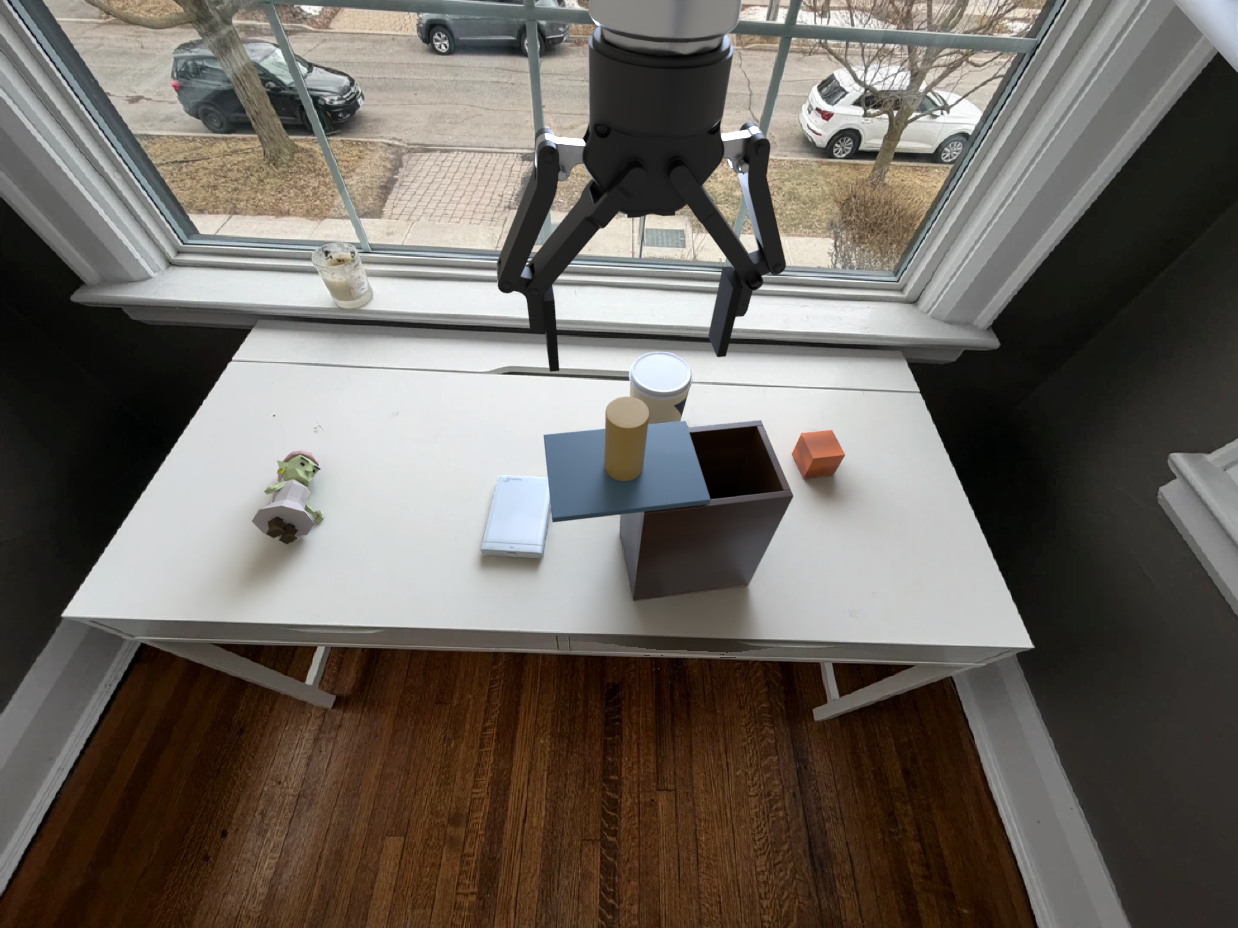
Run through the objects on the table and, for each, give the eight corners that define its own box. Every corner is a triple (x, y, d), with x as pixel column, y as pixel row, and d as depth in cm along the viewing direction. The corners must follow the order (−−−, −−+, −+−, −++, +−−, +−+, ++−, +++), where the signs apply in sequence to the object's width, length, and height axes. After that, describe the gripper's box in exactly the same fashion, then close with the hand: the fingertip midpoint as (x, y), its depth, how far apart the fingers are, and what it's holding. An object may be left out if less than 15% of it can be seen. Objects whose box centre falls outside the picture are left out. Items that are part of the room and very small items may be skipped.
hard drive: (497, 474, 80) (480, 548, 72) (553, 477, 80) (541, 552, 72) (499, 480, 81) (482, 555, 74) (554, 484, 81) (542, 558, 74)
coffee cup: (683, 450, 86) (694, 395, 77) (624, 446, 86) (628, 392, 77) (682, 407, 92) (692, 351, 82) (626, 404, 92) (630, 348, 82)
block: (833, 475, 84) (845, 454, 80) (803, 478, 83) (813, 458, 79) (821, 450, 87) (832, 429, 83) (791, 453, 86) (801, 432, 82)
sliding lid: (709, 504, 54) (726, 447, 47) (552, 522, 52) (545, 466, 45) (684, 425, 61) (696, 365, 54) (543, 439, 59) (537, 379, 52)
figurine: (271, 510, 66) (295, 424, 76) (226, 534, 68) (255, 447, 77) (329, 541, 72) (344, 458, 82) (286, 562, 74) (307, 478, 84)
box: (748, 585, 72) (793, 496, 56) (632, 601, 70) (644, 513, 54) (726, 518, 79) (761, 419, 62) (619, 531, 77) (626, 433, 60)
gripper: (858, 8, 32) (767, 313, 48) (412, 8, 28) (480, 335, 45) (923, 51, 27) (797, 370, 44) (402, 57, 24) (481, 399, 41)
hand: (636, 353), depth 45 cm, fingers open, 13 cm apart
